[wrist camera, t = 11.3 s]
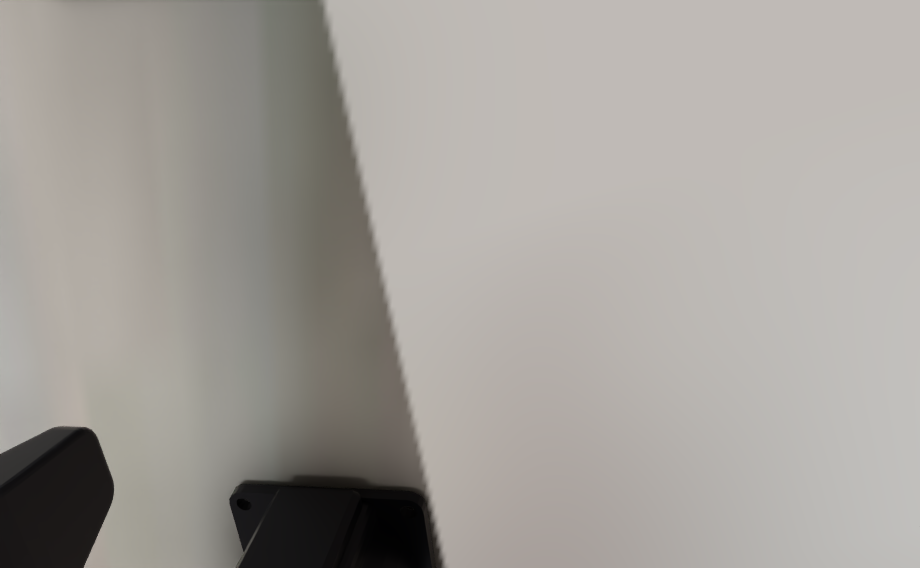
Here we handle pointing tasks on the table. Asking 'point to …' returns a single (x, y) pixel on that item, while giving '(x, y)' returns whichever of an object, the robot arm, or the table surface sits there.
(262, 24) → the table surface
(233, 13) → the table surface
